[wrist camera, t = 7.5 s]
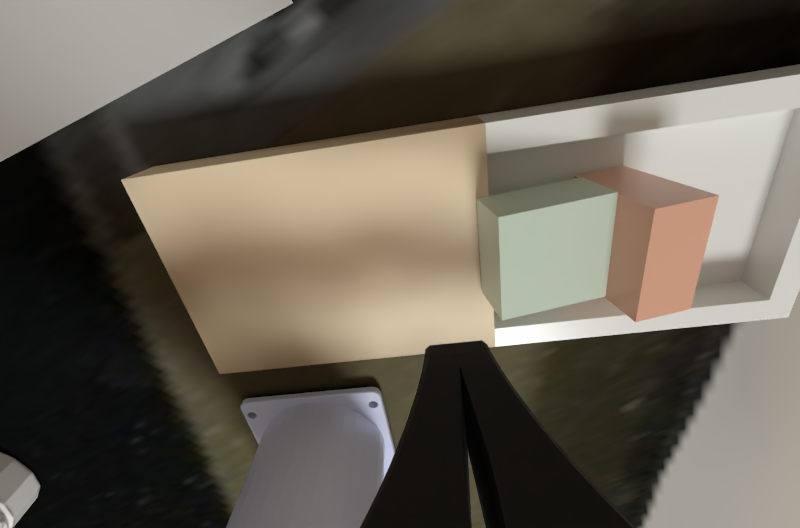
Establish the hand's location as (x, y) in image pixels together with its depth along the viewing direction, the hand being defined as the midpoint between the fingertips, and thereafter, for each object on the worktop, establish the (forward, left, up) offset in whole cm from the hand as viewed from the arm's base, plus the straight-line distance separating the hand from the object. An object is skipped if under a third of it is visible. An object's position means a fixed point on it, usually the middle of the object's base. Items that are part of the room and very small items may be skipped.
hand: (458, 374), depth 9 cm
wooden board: (0, +5, -8) cm, 10 cm away
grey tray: (0, -8, -8) cm, 12 cm away
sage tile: (0, -4, -7) cm, 8 cm away
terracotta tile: (0, -6, -6) cm, 8 cm away
